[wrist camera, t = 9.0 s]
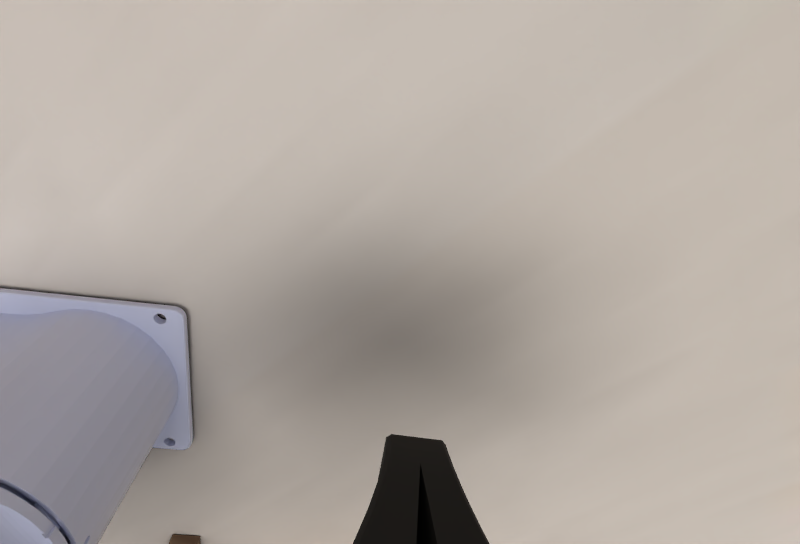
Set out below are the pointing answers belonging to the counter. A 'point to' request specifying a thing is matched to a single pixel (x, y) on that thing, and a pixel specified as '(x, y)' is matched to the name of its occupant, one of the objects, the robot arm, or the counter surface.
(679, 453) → the counter surface
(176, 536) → the tray
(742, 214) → the counter surface
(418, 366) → the counter surface
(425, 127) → the counter surface
